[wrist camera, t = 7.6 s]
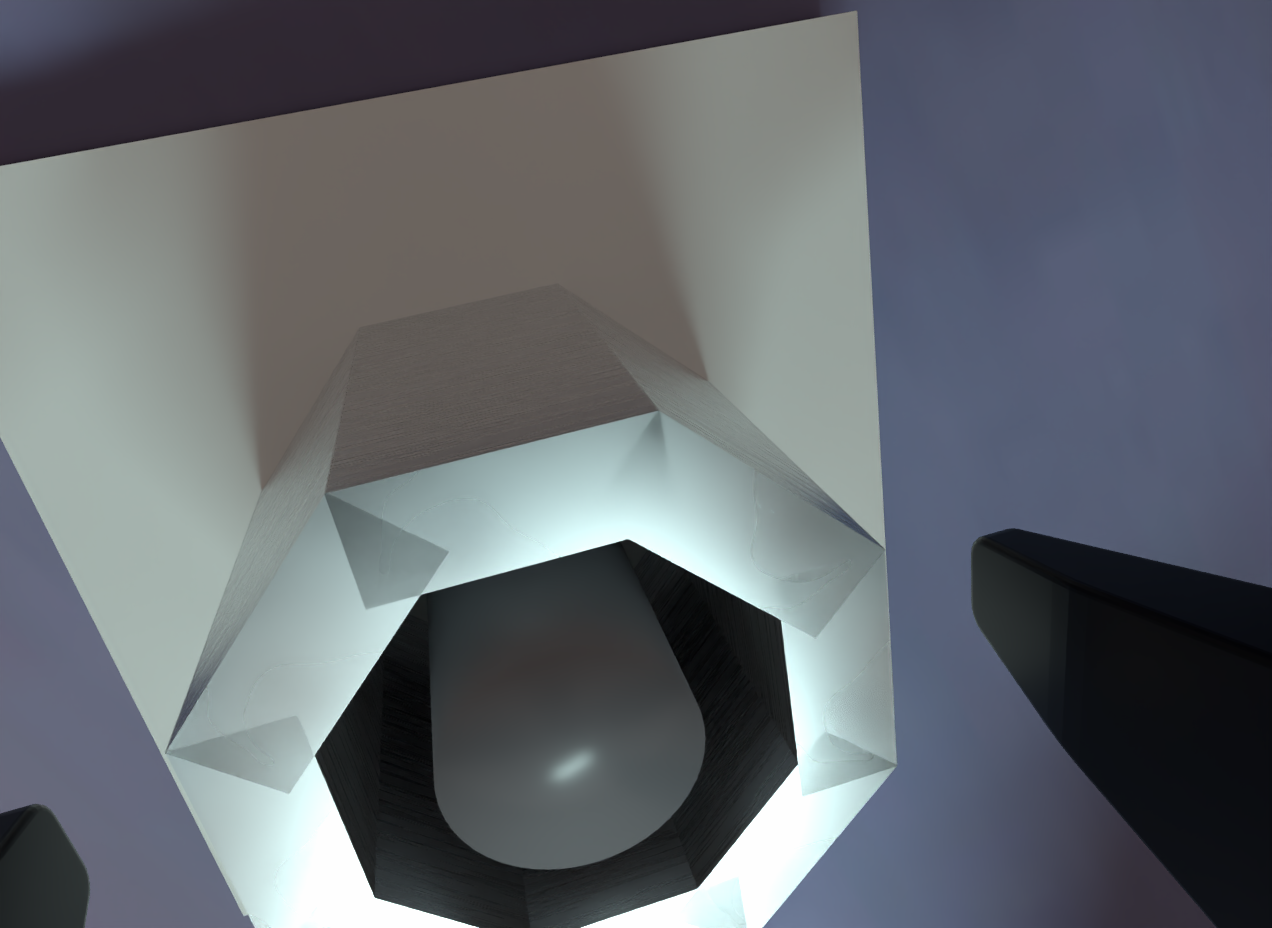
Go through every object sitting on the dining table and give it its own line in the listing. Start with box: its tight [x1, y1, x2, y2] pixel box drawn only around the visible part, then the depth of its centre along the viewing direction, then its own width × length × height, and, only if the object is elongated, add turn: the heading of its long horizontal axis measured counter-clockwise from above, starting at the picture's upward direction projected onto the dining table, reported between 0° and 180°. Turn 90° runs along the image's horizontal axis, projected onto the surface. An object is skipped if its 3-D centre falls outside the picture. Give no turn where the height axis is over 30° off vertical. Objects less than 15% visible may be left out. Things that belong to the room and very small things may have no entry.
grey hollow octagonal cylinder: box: [165, 283, 897, 928], centre depth 10 cm, size 6×6×5 cm
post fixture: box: [0, 11, 894, 916], centre depth 10 cm, size 11×11×6 cm
